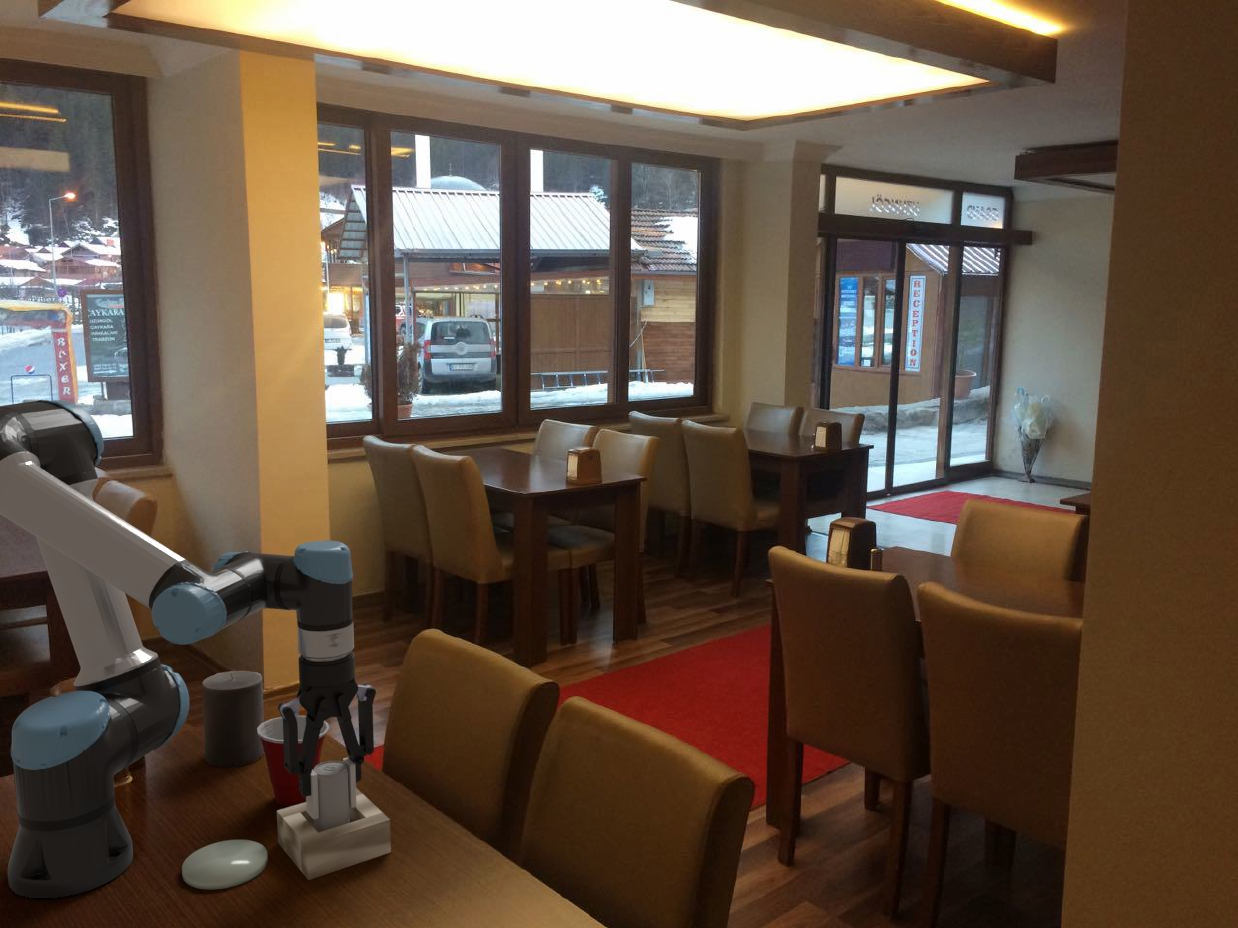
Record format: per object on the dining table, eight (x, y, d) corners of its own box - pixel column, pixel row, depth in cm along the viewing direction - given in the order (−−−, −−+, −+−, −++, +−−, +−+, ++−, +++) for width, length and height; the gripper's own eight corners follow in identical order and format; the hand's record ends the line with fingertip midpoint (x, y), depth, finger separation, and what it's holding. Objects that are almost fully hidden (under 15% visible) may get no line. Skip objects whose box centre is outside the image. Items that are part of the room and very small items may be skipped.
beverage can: (340, 856, 143) (338, 776, 141) (309, 852, 144) (306, 773, 142) (356, 839, 148) (353, 761, 146) (325, 835, 149) (322, 758, 147)
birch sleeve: (278, 842, 147) (276, 810, 146) (357, 818, 154) (356, 787, 153) (308, 880, 138) (307, 845, 137) (390, 852, 145) (390, 819, 144)
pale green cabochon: (173, 862, 142) (172, 855, 142) (252, 837, 148) (252, 831, 148) (194, 898, 133) (194, 891, 133) (278, 871, 140) (278, 864, 140)
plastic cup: (341, 801, 159) (339, 729, 157) (271, 821, 153) (267, 745, 151) (319, 775, 168) (316, 706, 166) (252, 792, 162) (248, 721, 160)
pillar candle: (229, 773, 169) (225, 686, 166) (193, 758, 174) (189, 674, 172) (277, 752, 177) (274, 670, 175) (241, 739, 182) (238, 658, 180)
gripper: (271, 673, 133) (278, 839, 137) (397, 647, 144) (401, 801, 147) (252, 657, 139) (259, 816, 143) (375, 633, 150) (379, 782, 153)
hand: (331, 808), depth 145 cm, fingers closed on beverage can, 5 cm apart
